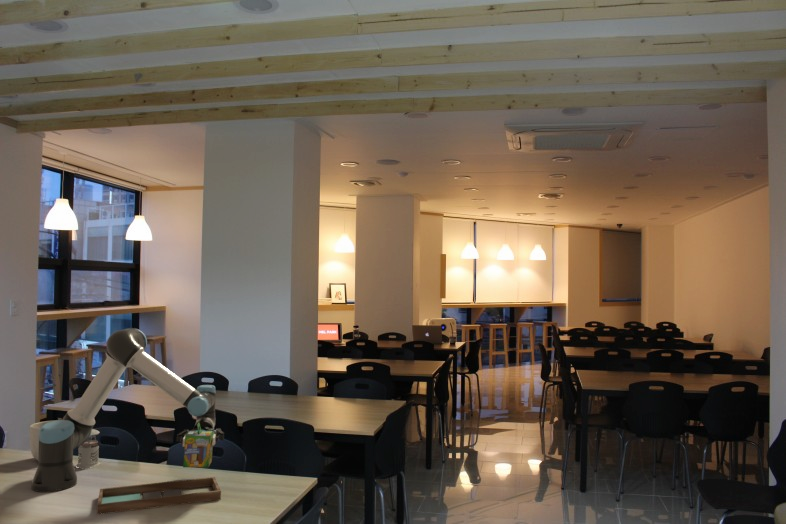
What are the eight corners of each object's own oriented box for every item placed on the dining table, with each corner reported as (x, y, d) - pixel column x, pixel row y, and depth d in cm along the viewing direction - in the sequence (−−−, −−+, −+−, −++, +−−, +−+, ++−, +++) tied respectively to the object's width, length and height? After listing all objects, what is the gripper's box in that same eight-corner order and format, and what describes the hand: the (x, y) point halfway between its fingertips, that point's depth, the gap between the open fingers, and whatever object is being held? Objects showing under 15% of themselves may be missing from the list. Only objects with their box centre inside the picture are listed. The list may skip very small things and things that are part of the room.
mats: (143, 494, 220) (143, 492, 220) (180, 490, 225) (180, 488, 225) (143, 506, 207) (143, 505, 207) (183, 502, 213) (183, 500, 213)
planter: (52, 452, 276) (54, 418, 276) (81, 456, 270) (82, 421, 271) (18, 462, 260) (20, 426, 261) (48, 466, 254) (49, 429, 255)
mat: (102, 498, 215) (102, 497, 215) (140, 494, 220) (140, 493, 220) (100, 511, 202) (100, 510, 202) (140, 507, 207) (140, 505, 207)
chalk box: (208, 468, 216) (212, 427, 217) (182, 467, 215) (185, 425, 216) (212, 461, 225) (215, 421, 226) (187, 460, 224) (190, 420, 225)
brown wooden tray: (99, 497, 216) (100, 488, 217) (214, 484, 232) (214, 476, 232) (96, 514, 200) (97, 505, 200) (220, 499, 216) (220, 490, 216)
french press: (71, 469, 250) (74, 408, 251) (80, 461, 261) (82, 403, 263) (97, 468, 252) (99, 408, 253) (104, 460, 263) (106, 403, 264)
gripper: (232, 437, 242) (230, 451, 220) (174, 439, 237) (166, 454, 215) (232, 418, 242) (230, 430, 221) (174, 420, 237) (166, 432, 216)
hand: (198, 442), depth 218 cm, fingers closed on chalk box, 10 cm apart
